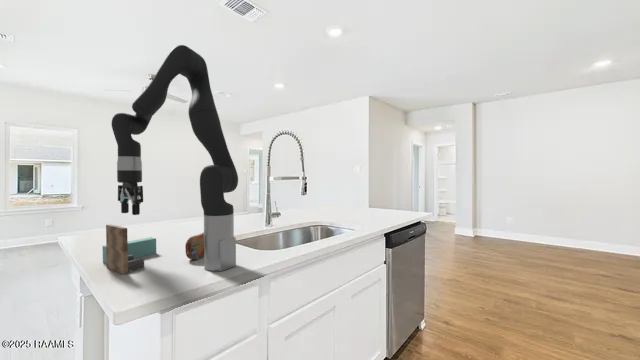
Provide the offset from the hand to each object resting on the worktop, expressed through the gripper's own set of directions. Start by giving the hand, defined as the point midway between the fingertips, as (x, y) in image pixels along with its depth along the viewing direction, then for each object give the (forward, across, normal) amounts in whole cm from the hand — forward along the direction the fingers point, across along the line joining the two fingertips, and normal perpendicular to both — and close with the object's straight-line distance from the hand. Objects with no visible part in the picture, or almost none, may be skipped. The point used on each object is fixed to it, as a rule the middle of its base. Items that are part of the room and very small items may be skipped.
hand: (130, 213), depth 104 cm
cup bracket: (+16, -12, +6) cm, 21 cm away
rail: (+16, 0, 0) cm, 16 cm away
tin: (+16, -20, -15) cm, 30 cm away
